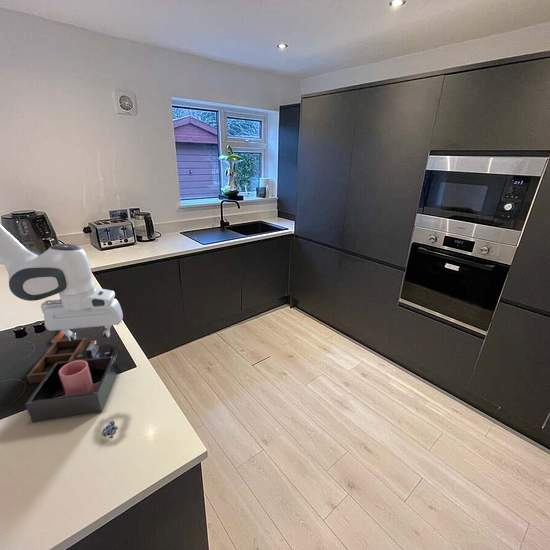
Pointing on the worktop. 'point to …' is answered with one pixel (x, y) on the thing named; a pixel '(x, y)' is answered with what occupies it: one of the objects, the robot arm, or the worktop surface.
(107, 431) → the blueberries
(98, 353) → the tap panel
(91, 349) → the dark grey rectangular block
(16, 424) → the worktop surface
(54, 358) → the wooden divided tray
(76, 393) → the cup
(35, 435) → the worktop surface
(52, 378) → the dark grey open box
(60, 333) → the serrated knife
